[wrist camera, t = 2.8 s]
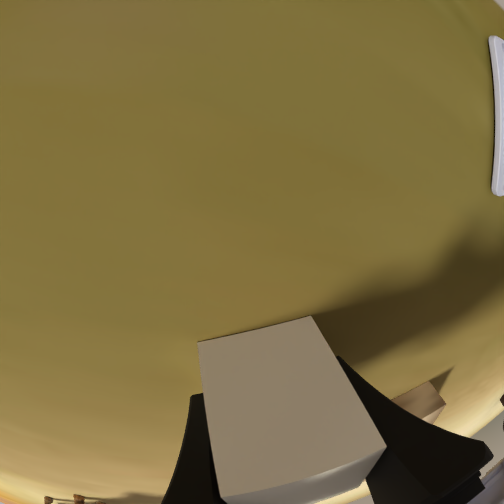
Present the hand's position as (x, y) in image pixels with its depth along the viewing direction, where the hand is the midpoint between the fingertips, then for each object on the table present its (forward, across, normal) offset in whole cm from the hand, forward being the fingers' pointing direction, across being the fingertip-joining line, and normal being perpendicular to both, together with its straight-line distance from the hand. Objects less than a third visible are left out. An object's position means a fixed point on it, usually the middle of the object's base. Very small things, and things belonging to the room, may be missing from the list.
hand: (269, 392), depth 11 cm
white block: (+1, 0, 0) cm, 1 cm away
